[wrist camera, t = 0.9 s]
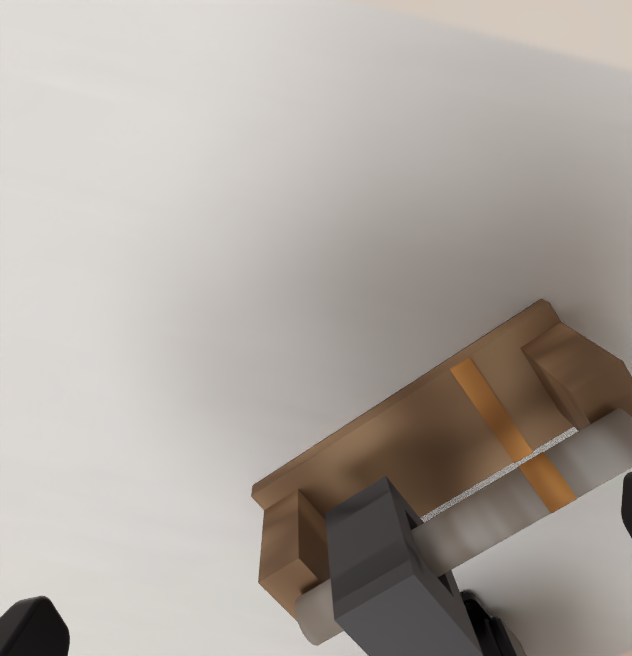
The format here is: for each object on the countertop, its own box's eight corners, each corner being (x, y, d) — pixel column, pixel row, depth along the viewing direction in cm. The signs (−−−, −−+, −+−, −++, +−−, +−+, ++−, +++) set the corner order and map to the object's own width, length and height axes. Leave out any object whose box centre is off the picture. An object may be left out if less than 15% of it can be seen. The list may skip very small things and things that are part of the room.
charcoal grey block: (383, 578, 22) (407, 695, 17) (325, 513, 21) (333, 620, 16) (441, 544, 21) (483, 655, 17) (385, 475, 20) (413, 574, 15)
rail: (323, 562, 26) (333, 697, 20) (252, 485, 25) (237, 606, 18) (599, 397, 24) (715, 490, 17) (541, 298, 22) (646, 360, 15)
